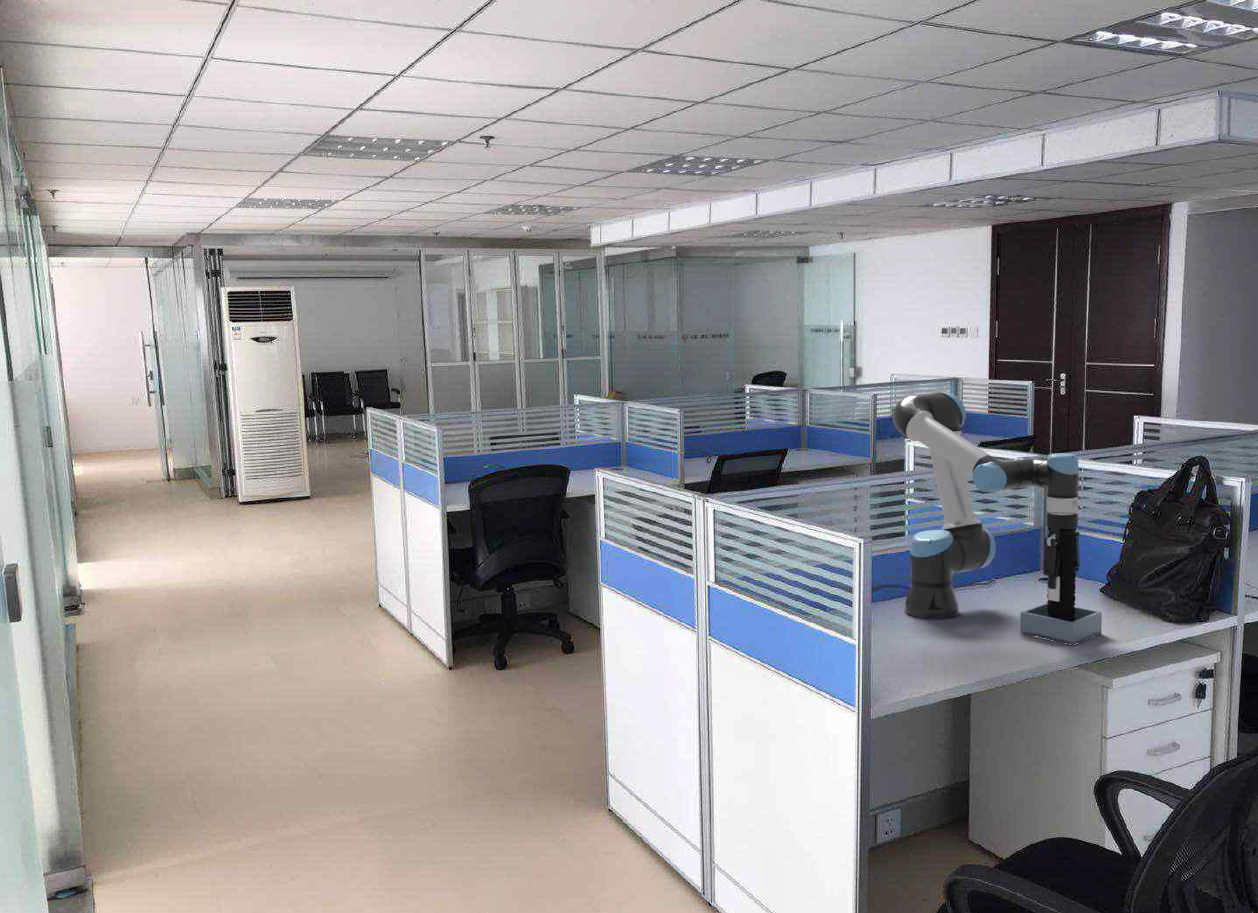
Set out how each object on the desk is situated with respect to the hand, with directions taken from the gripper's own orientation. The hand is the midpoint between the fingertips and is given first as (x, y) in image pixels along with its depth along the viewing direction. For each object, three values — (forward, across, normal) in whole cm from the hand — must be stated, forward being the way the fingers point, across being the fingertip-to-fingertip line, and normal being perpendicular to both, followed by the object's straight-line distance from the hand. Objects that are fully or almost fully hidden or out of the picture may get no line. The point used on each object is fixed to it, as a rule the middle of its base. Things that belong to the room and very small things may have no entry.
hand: (1061, 597), depth 257 cm
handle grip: (+7, 0, 0) cm, 7 cm away
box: (+10, 0, 0) cm, 10 cm away
